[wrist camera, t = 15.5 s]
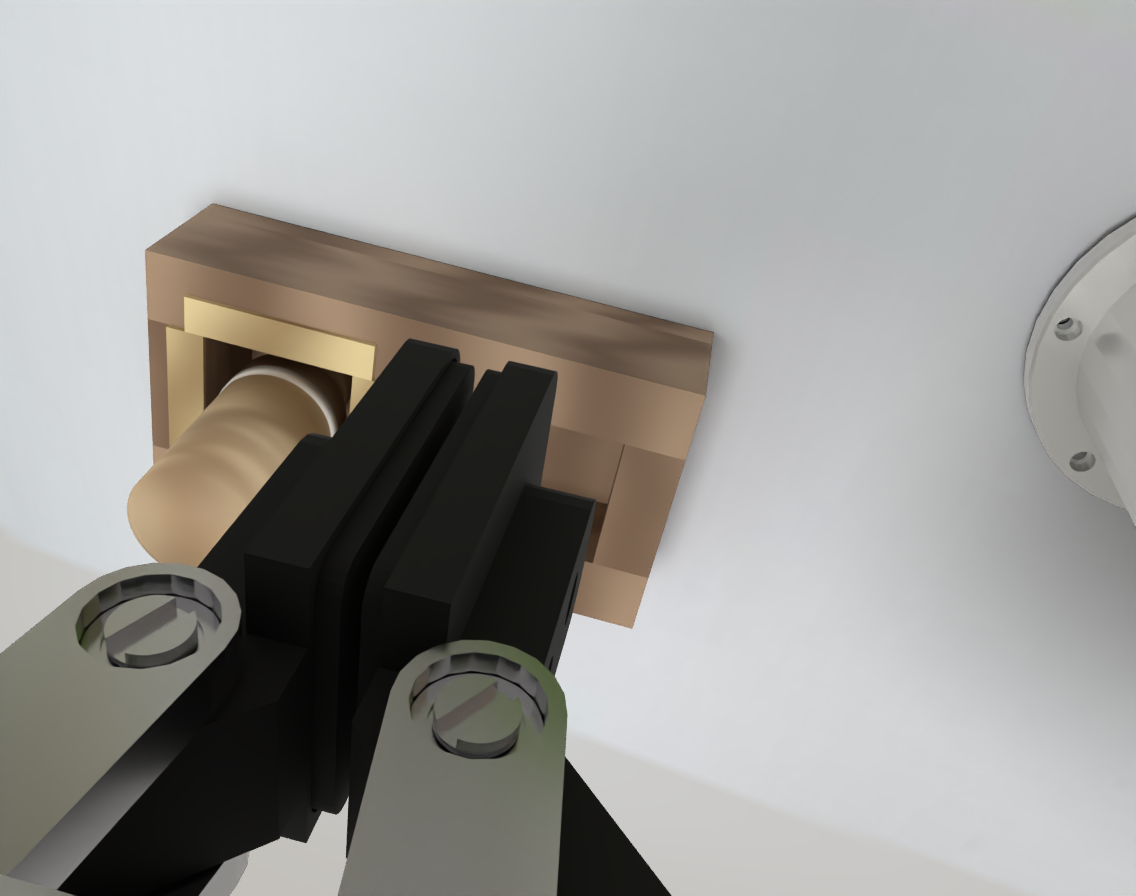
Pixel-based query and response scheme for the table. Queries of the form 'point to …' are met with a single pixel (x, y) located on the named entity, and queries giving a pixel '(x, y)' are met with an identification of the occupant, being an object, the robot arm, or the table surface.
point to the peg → (232, 455)
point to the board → (450, 318)
